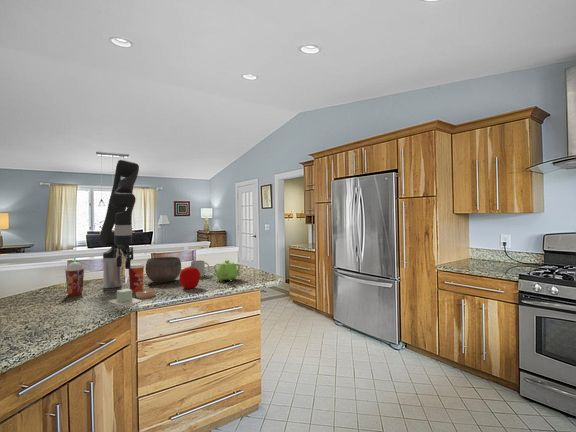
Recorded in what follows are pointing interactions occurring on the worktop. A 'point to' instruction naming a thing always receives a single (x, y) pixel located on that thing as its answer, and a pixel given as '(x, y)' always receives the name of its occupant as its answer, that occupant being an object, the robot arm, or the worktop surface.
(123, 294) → the cube
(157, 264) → the bowl
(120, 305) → the mat
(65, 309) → the worktop surface
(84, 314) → the worktop surface
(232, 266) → the teapot
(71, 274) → the smoothie
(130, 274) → the coffee cup
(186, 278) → the tomato
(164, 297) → the worktop surface
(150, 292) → the peach domed disc
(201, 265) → the mug
